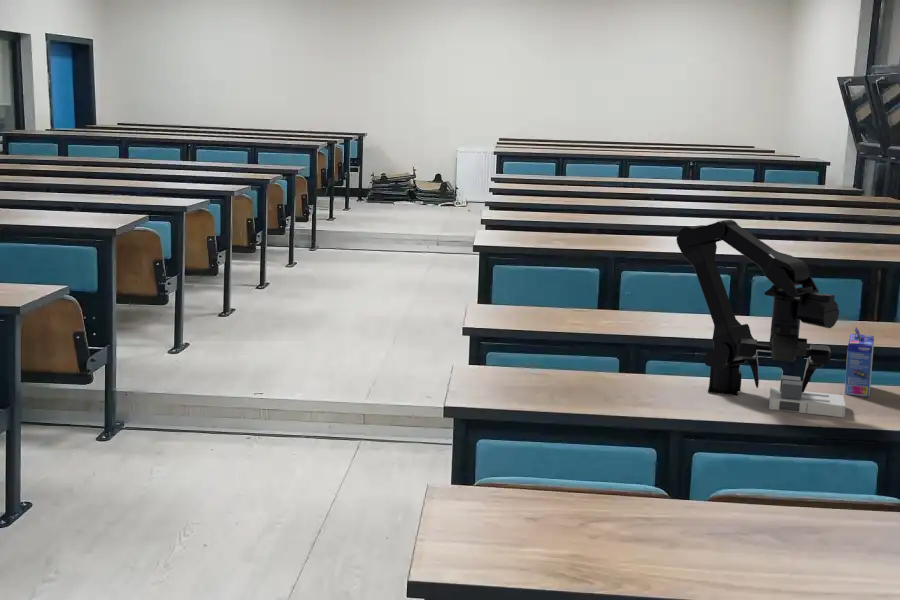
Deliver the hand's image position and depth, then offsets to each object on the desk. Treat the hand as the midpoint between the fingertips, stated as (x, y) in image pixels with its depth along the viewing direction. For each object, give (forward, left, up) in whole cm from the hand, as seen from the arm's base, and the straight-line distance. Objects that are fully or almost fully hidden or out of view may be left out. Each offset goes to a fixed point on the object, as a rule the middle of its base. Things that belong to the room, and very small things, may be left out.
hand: (779, 389), depth 204 cm
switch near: (+2, 0, -1) cm, 3 cm away
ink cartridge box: (+17, +20, -4) cm, 27 cm away
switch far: (+2, +4, -1) cm, 5 cm away
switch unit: (+6, +2, -4) cm, 7 cm away
